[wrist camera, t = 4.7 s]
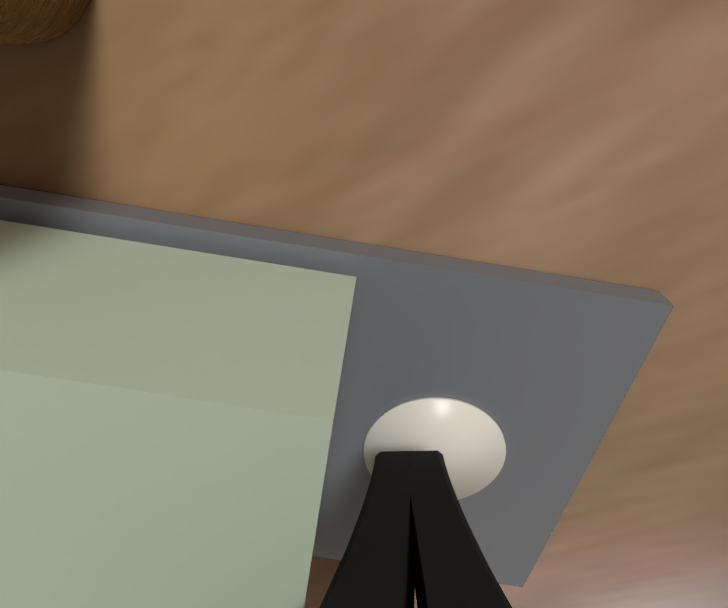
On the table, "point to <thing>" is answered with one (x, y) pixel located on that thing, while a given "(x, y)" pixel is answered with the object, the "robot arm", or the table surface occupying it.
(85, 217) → the base
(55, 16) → the peg
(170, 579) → the pale green rectangular block
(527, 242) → the table surface
